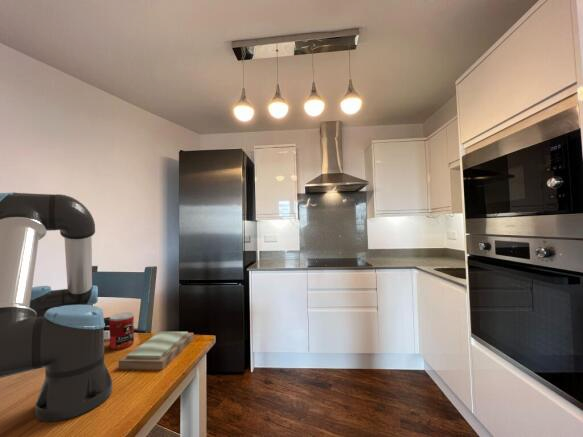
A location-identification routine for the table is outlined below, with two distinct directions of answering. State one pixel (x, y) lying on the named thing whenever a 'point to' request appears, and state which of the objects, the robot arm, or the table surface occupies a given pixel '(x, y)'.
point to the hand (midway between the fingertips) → (121, 327)
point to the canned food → (121, 330)
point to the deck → (157, 351)
